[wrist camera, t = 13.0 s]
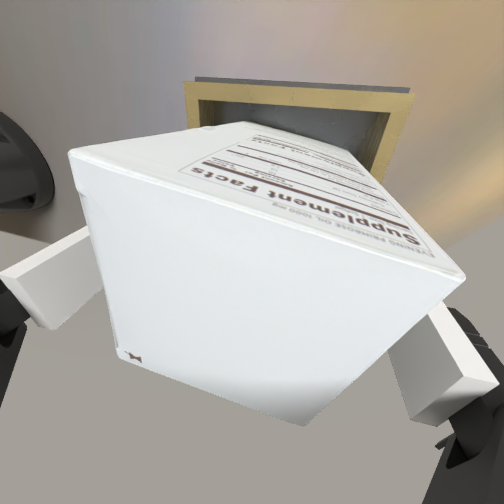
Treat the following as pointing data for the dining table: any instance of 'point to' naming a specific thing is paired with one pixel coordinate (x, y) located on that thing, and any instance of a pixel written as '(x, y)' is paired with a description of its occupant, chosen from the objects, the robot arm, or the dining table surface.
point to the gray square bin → (308, 112)
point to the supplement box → (254, 262)
